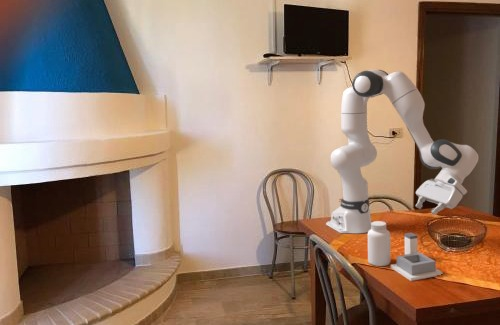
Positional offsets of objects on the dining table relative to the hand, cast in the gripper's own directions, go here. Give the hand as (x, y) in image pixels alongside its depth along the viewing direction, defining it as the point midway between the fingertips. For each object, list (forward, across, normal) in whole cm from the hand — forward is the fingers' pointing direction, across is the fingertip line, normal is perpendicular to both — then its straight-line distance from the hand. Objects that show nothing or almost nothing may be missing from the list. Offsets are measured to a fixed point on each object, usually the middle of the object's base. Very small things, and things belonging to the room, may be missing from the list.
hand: (425, 210), depth 167 cm
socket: (+22, +17, -1) cm, 28 cm away
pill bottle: (+27, +6, -6) cm, 28 cm away
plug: (+18, +6, +3) cm, 20 cm away
